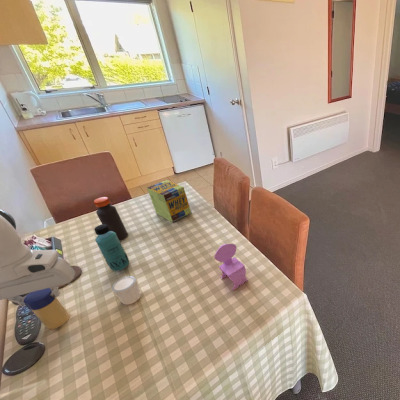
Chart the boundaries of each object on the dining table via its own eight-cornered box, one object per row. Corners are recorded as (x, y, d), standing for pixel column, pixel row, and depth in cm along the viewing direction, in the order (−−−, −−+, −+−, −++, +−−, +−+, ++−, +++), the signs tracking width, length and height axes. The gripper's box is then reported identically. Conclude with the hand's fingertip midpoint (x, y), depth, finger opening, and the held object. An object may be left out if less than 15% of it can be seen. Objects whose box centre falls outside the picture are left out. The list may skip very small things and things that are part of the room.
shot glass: (114, 304, 89) (106, 290, 86) (130, 288, 95) (122, 274, 92) (132, 307, 88) (124, 293, 85) (147, 291, 94) (140, 277, 91)
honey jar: (42, 331, 81) (20, 307, 75) (50, 316, 86) (30, 291, 80) (66, 325, 83) (46, 300, 77) (72, 310, 88) (54, 285, 82)
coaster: (33, 295, 93) (32, 294, 93) (48, 272, 103) (47, 270, 102) (75, 284, 97) (75, 283, 97) (86, 263, 107) (85, 262, 106)
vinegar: (128, 238, 120) (110, 200, 110) (110, 244, 117) (90, 205, 106) (128, 231, 125) (110, 194, 115) (110, 236, 121) (91, 198, 111)
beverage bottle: (108, 271, 102) (84, 230, 92) (124, 260, 108) (103, 219, 98) (119, 276, 100) (96, 234, 90) (135, 264, 106) (115, 223, 95)
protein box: (173, 223, 130) (163, 195, 122) (156, 213, 137) (145, 187, 130) (192, 213, 138) (184, 186, 130) (175, 204, 145) (166, 179, 137)
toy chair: (231, 293, 93) (222, 261, 85) (218, 280, 98) (209, 249, 90) (251, 279, 98) (244, 248, 91) (237, 268, 103) (231, 237, 96)
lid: (24, 313, 76) (18, 306, 75) (34, 297, 81) (29, 290, 80) (51, 305, 78) (45, 299, 77) (59, 290, 83) (54, 284, 82)
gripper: (-47, 285, 66) (-12, 320, 73) (55, 262, 73) (79, 296, 80) (-31, 268, 71) (1, 303, 78) (64, 248, 78) (85, 281, 85)
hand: (41, 299), depth 79 cm, fingers closed on lid, 6 cm apart
